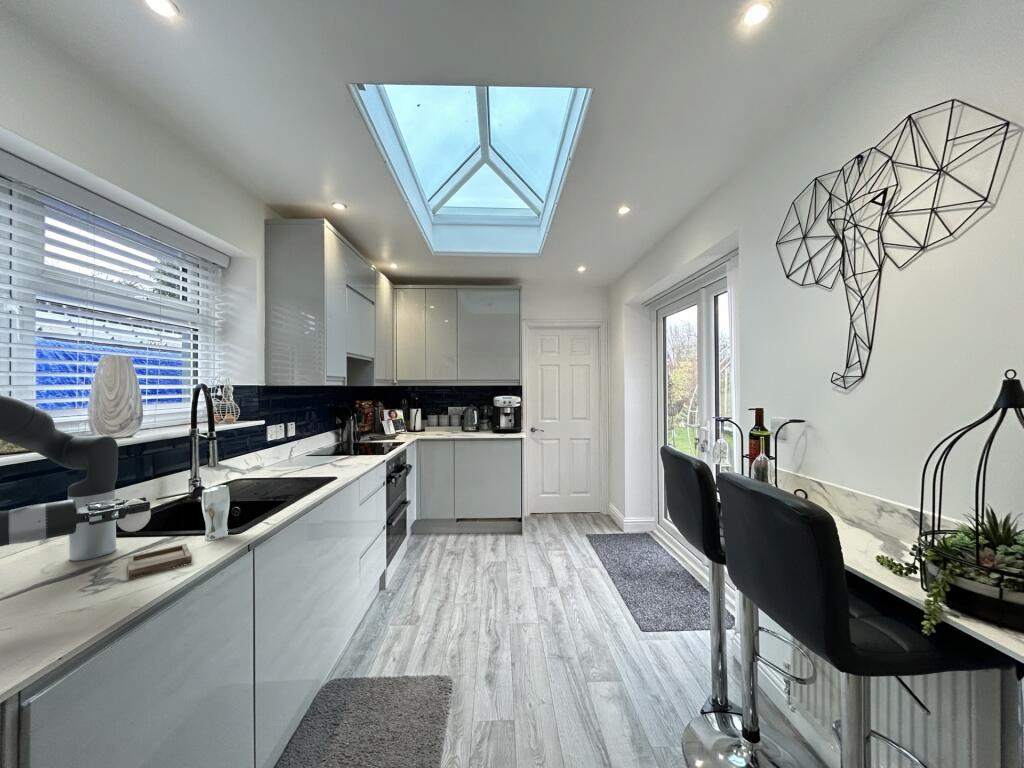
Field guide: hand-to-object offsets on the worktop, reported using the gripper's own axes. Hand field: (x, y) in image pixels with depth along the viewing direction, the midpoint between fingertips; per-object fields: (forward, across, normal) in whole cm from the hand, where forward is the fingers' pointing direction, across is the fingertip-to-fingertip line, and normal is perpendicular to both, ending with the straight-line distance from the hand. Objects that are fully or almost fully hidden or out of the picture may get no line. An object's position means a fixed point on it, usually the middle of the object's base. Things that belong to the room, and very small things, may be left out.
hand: (147, 503), depth 100 cm
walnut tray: (+3, +7, +18) cm, 19 cm away
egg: (-2, 0, +6) cm, 7 cm away
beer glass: (+18, +19, +18) cm, 32 cm away
